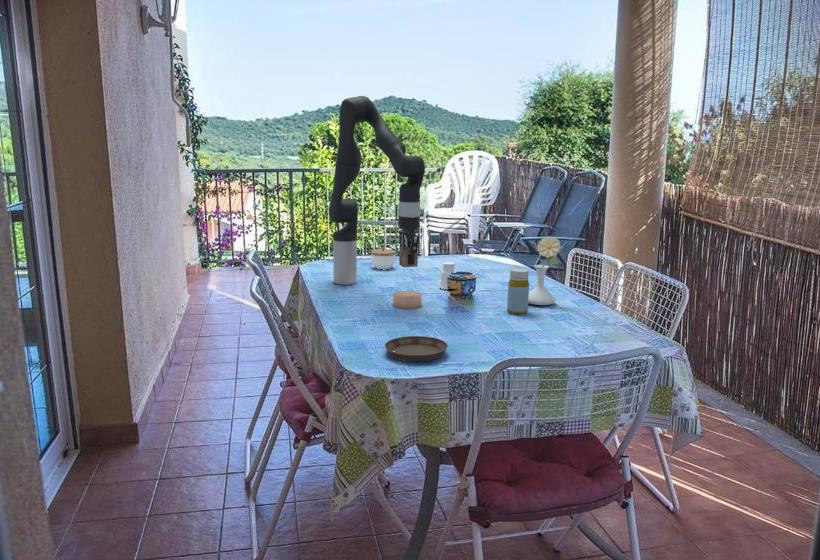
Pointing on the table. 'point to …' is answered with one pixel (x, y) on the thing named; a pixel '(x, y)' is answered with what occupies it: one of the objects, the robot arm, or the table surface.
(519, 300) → the bottle
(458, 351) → the table surface
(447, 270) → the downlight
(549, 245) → the flower in vase
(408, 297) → the terracotta puck
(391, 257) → the lidded jar
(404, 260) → the walnut block
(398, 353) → the plant saucer
